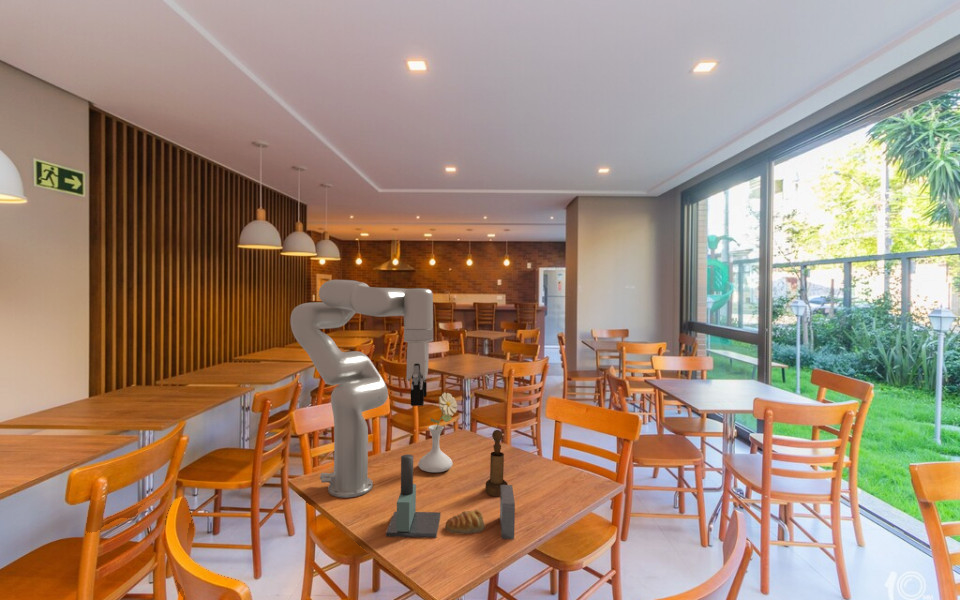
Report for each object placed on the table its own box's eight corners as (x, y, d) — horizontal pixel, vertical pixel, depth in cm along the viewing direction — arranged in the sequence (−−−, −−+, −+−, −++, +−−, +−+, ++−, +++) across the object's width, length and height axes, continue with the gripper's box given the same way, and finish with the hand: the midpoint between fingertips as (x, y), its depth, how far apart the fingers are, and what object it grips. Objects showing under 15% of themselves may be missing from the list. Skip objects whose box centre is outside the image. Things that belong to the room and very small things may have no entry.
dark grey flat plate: (385, 536, 104) (385, 532, 104) (394, 515, 114) (394, 511, 114) (436, 537, 104) (436, 533, 104) (440, 516, 114) (440, 512, 114)
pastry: (449, 539, 104) (449, 522, 104) (442, 524, 110) (442, 509, 110) (486, 532, 107) (486, 516, 107) (477, 519, 113) (477, 504, 113)
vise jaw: (396, 531, 104) (397, 464, 104) (404, 510, 114) (404, 449, 114) (409, 531, 104) (409, 464, 104) (415, 510, 114) (416, 449, 114)
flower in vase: (425, 478, 137) (426, 399, 136) (412, 465, 147) (413, 391, 146) (463, 471, 143) (464, 394, 143) (448, 459, 153) (449, 388, 153)
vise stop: (501, 538, 104) (502, 503, 104) (500, 517, 114) (500, 484, 114) (514, 539, 104) (514, 503, 104) (511, 517, 114) (512, 485, 114)
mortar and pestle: (505, 497, 125) (506, 434, 125) (483, 495, 126) (484, 433, 126) (508, 487, 131) (509, 427, 131) (487, 485, 133) (488, 426, 132)
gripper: (408, 333, 123) (408, 394, 123) (399, 338, 106) (400, 409, 106) (434, 333, 123) (435, 393, 123) (430, 338, 106) (431, 409, 106)
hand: (419, 401), depth 115 cm, fingers open, 9 cm apart
